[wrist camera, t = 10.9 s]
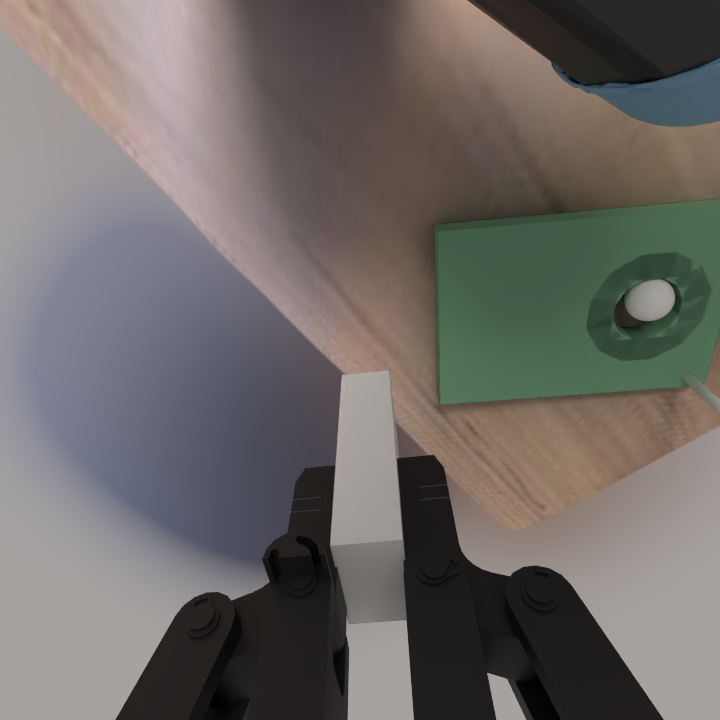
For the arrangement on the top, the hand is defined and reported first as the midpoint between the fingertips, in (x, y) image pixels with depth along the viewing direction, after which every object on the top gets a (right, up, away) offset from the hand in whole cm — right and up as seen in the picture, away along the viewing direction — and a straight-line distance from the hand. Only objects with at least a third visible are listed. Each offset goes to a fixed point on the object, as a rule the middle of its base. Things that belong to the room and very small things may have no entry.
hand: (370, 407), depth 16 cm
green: (+17, +6, +24) cm, 30 cm away
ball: (+22, +6, +22) cm, 32 cm away
